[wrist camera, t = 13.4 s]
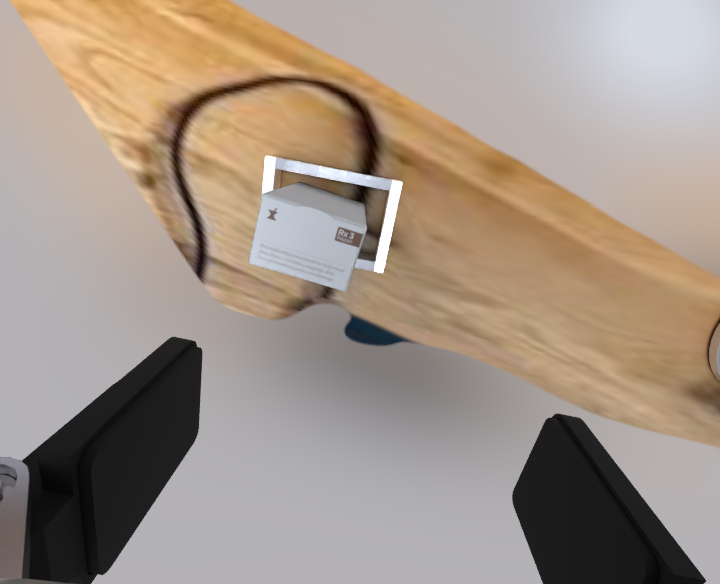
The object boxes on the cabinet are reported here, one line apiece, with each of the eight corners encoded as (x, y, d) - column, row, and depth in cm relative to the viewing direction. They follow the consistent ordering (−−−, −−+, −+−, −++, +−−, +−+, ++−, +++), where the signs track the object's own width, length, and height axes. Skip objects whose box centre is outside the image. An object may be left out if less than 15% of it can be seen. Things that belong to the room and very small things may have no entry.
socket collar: (400, 180, 30) (402, 182, 28) (382, 264, 33) (383, 273, 30) (273, 155, 30) (265, 155, 28) (265, 242, 32) (257, 249, 30)
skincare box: (286, 228, 32) (240, 268, 21) (299, 177, 30) (256, 190, 19) (353, 250, 32) (344, 300, 21) (369, 200, 31) (368, 226, 20)
